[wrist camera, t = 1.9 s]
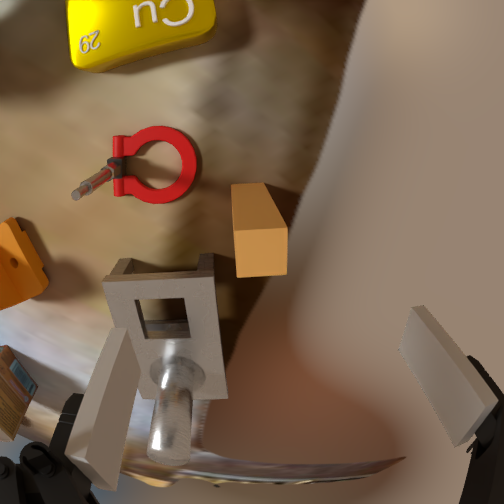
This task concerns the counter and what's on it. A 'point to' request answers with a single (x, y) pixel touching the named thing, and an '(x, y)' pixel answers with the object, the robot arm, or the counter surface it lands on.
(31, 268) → the bracket
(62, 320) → the counter surface
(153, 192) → the tow hook
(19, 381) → the milk carton
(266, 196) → the wedge pin
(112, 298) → the windowed plate knob
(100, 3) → the element tile
